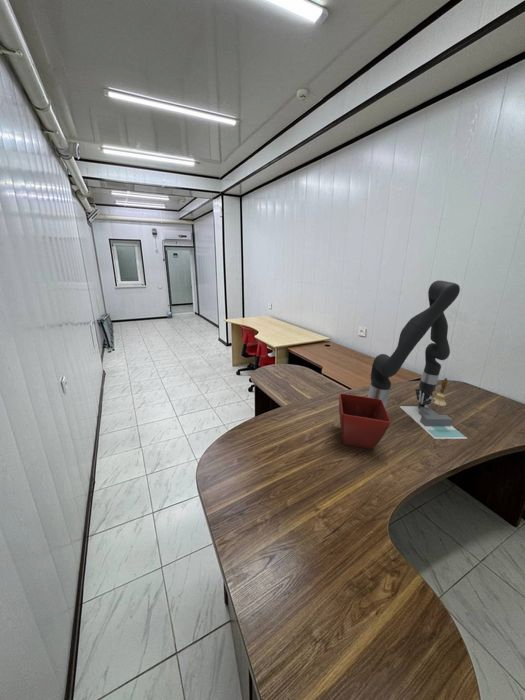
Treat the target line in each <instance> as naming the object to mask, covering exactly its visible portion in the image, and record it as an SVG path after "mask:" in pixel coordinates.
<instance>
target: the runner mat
mask: <svg viewBox="0 0 525 700" xmlns="http://www.w3.org/2000/svg"><path fill="white" fill-rule="evenodd" d="M425 407H428V405H425ZM399 408H401V410H403V411H404V412H405V413H406V414H407V415H408V416H409V417H410V418H411V419H412V420H414V421H415V422H416V423H417V424H418V425H419V426H420V427H421V428H422V429H423V430H424V431H426V432H427V433H428V434H429V435H430V436H431V437H432V438H433V439H435V440H442V439H443V440H448V439H449V440H454V439H456V440H457V439H462V440H463V439H464V440H465V439H468V437H466V436H465V437H434V436H433V435H432V434H431V433H430V432H429V431H428V430H435V429H434V428H433V427H432V426H424V425H423V424H422V423H421V422H420V420H421V417H422V416H421V415H420V414H419V408H418V406H416V405H415V406H413V405H411V406H410V405H408V406H406V405H403V406H402V405H401V406H399ZM444 427H446V428H447V429H448V430H457V429H456V428H455V427H454V426H453V425H451V426H444Z"/></svg>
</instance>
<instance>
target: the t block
mask: <svg viewBox="0 0 525 700" xmlns="http://www.w3.org/2000/svg"><path fill="white" fill-rule="evenodd" d="M419 414H420V415H421V416H422V417H421V420H420V422H421V423H422V424H423V425H424V426H452V425H453V424H452V423H453V421H454V420H453V418H452V417H451V416H449V415H448V414H438V413H437V412H436V411H435V410H434V409H432V408H431V407H430V406H427V407H420V409H419Z"/></svg>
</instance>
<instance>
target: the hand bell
mask: <svg viewBox="0 0 525 700" xmlns="http://www.w3.org/2000/svg"><path fill="white" fill-rule="evenodd" d="M447 386H448V378H446V377H444V379H443V380H442V381H441V389H440V391H439V392H437V393H436V394H435V396H434V397H432V398H433V399H435V401H434V402H432V403H433V404H435V405H438V406H441V407H442V406H443V407H444V406H445V407H446V406H447V402H446V400H445V399H446V395H445V394H444V392H445V390H446V387H447Z"/></svg>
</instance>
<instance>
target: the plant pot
mask: <svg viewBox="0 0 525 700" xmlns="http://www.w3.org/2000/svg"><path fill="white" fill-rule="evenodd" d="M338 397H339V399H338V408H339V412H338V413H339V424H340V431H341V432H340V433H341V442H342V444H343V445H346V446H351V447H357V448H362V449H368V450H373V449H374V448H375V447H376V446H377V445H378V443H380V441H381V440H382V439H383V437H384V435H385V434H386V432H387V430H388V429H389V427H390V424H391V422H392V420H391V418H390V417H389V414H388V411H387V410H386V409H387V408H385V407H384V404H383V402H382V400H380V399H375V398H368V396H361V395H355V394H348V393H342V392H341V393H339V396H338Z"/></svg>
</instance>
